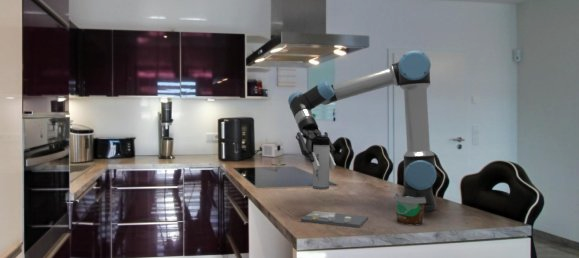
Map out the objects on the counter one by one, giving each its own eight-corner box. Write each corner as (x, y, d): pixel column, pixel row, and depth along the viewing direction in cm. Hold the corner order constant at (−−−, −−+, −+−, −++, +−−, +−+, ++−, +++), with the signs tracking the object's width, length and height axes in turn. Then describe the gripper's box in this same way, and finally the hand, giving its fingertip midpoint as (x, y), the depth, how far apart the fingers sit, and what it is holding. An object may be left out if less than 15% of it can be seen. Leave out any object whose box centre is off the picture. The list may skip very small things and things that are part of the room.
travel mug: (324, 186, 170) (325, 135, 169) (331, 189, 164) (332, 136, 163) (309, 187, 168) (310, 135, 167) (316, 190, 161) (317, 136, 161)
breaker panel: (368, 219, 164) (368, 212, 164) (359, 227, 151) (359, 220, 151) (313, 213, 172) (313, 207, 172) (300, 221, 159) (300, 214, 159)
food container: (387, 221, 160) (387, 194, 160) (396, 218, 165) (396, 192, 165) (417, 227, 152) (417, 199, 151) (425, 224, 156) (426, 197, 156)
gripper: (323, 129, 183) (343, 172, 169) (282, 129, 175) (299, 174, 161) (330, 117, 178) (351, 160, 164) (287, 116, 170) (306, 162, 156)
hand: (325, 167), depth 162 cm, fingers closed on travel mug, 6 cm apart
